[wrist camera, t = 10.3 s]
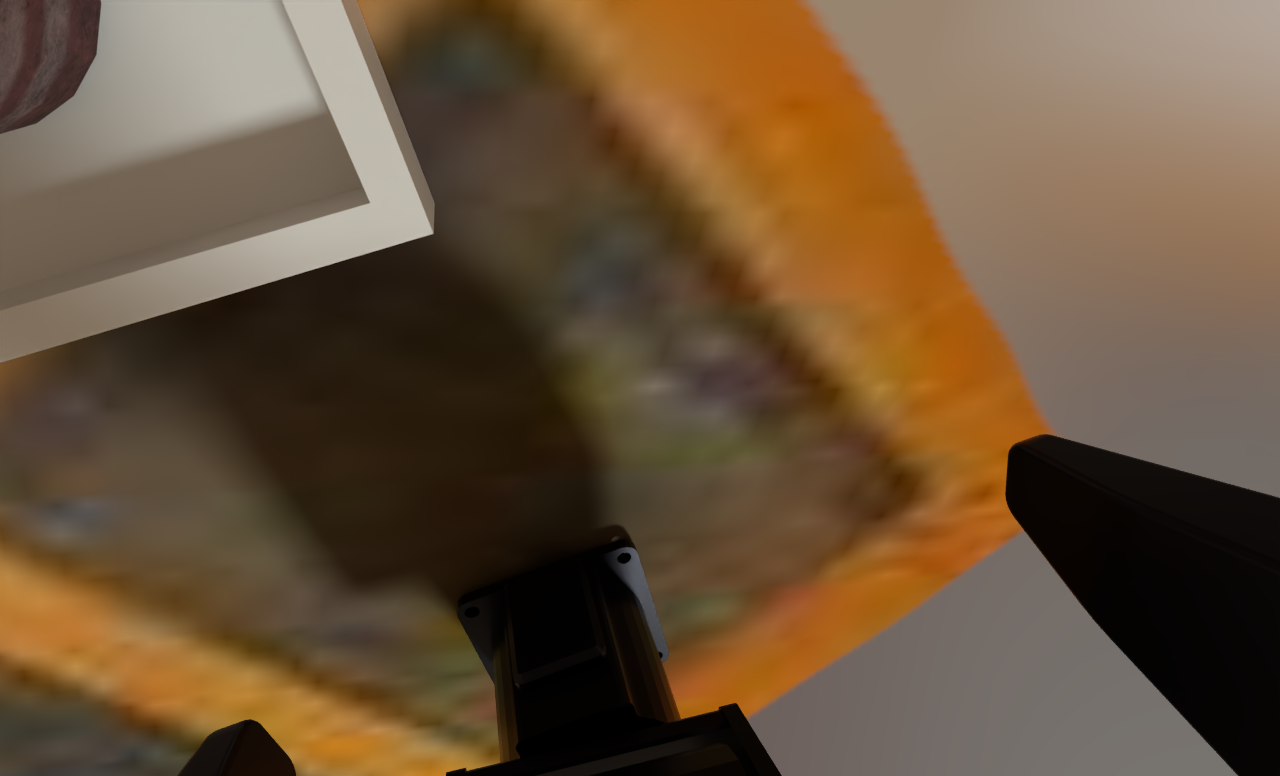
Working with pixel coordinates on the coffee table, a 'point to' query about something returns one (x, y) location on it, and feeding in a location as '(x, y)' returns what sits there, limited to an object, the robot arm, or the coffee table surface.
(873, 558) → the coffee table surface
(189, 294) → the tray
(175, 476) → the coffee table surface
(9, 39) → the can
